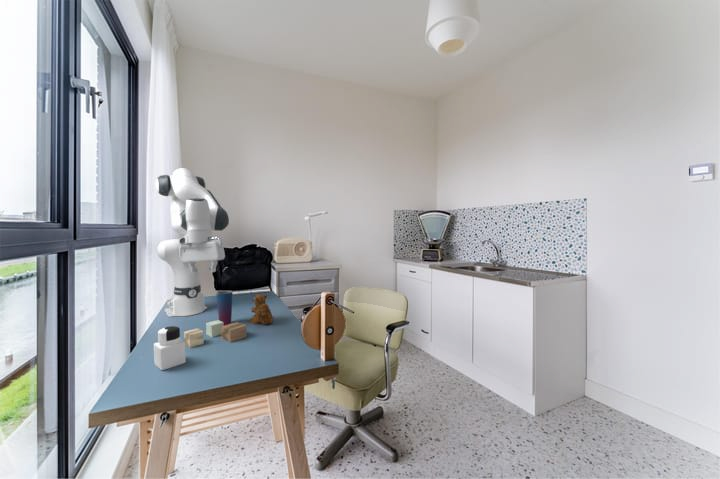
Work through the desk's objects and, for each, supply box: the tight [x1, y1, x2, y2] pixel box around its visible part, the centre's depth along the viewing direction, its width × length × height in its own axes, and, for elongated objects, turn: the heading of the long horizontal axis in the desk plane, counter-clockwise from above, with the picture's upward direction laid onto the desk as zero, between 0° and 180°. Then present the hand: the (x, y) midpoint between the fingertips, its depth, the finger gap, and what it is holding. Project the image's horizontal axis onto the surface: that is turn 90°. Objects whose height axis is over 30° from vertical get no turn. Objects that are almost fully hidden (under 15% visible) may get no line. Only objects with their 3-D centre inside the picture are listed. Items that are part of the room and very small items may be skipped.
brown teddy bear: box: [248, 293, 274, 326], centre depth 138 cm, size 10×14×13 cm
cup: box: [215, 290, 233, 326], centre depth 136 cm, size 7×7×15 cm
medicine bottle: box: [153, 325, 187, 371], centre depth 97 cm, size 7×7×12 cm
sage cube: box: [205, 319, 224, 338], centre depth 124 cm, size 5×5×5 cm
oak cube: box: [183, 327, 205, 349], centre depth 113 cm, size 5×5×5 cm
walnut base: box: [220, 321, 248, 343], centre depth 120 cm, size 7×7×5 cm
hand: (203, 272), depth 118 cm, fingers open, 8 cm apart
